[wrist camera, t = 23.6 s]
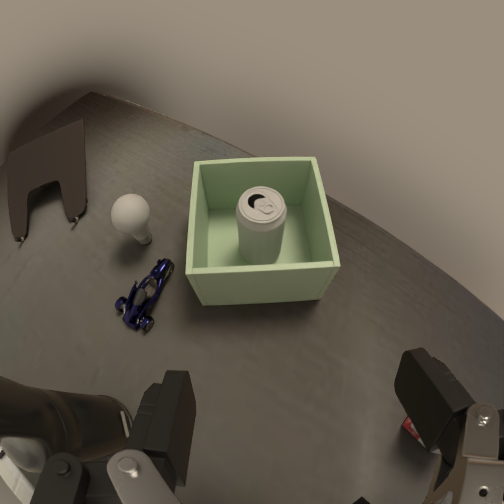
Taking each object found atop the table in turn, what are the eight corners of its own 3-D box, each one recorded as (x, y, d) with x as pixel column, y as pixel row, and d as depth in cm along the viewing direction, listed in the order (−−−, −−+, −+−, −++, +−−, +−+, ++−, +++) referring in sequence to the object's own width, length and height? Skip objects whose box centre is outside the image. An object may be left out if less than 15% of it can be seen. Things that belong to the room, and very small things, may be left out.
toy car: (145, 337, 40) (135, 332, 37) (116, 315, 42) (105, 307, 38) (189, 275, 45) (183, 264, 41) (158, 256, 46) (151, 245, 43)
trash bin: (202, 305, 43) (185, 274, 32) (205, 208, 51) (194, 161, 40) (320, 299, 43) (340, 266, 32) (305, 204, 51) (315, 156, 41)
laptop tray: (28, 247, 55) (5, 245, 45) (23, 161, 55) (3, 150, 46) (104, 222, 57) (86, 216, 48) (95, 130, 57) (80, 113, 48)
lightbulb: (166, 225, 49) (147, 184, 40) (159, 257, 46) (137, 219, 37) (134, 225, 49) (112, 186, 40) (127, 255, 47) (99, 220, 37)
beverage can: (257, 225, 48) (257, 175, 37) (288, 247, 46) (298, 200, 35) (231, 251, 46) (224, 205, 35) (263, 276, 44) (265, 234, 33)
